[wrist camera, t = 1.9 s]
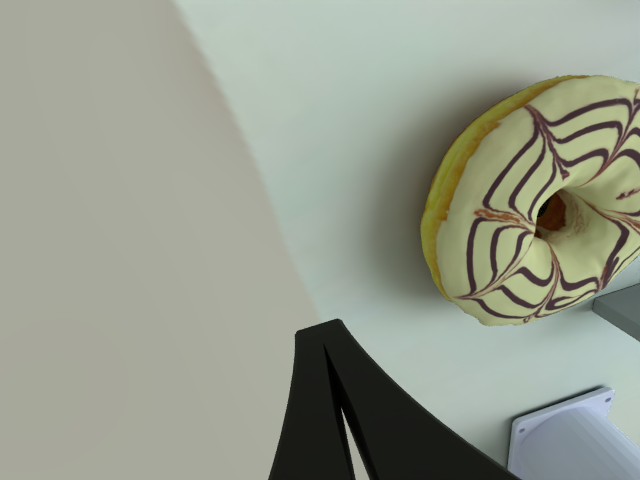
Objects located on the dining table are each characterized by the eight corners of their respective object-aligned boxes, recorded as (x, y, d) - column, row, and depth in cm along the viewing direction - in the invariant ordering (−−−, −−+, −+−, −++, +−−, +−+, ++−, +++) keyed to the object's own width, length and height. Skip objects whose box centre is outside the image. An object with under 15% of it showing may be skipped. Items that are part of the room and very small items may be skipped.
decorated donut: (549, 294, 19) (613, 340, 16) (380, 288, 16) (415, 341, 13) (652, 104, 15) (770, 111, 11) (450, 53, 12) (527, 42, 9)
